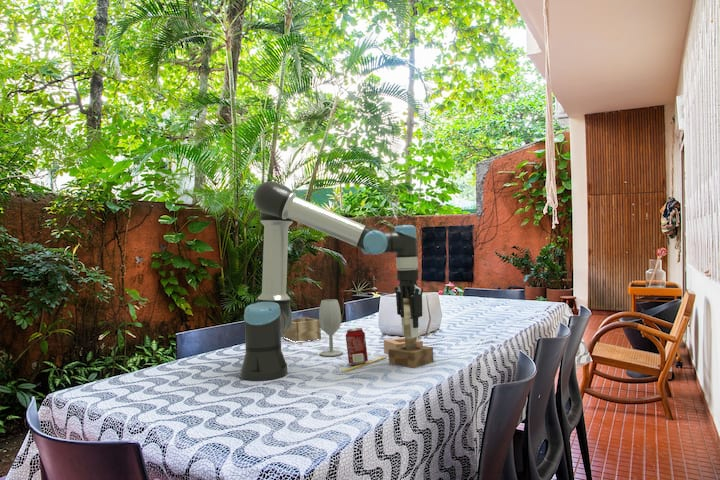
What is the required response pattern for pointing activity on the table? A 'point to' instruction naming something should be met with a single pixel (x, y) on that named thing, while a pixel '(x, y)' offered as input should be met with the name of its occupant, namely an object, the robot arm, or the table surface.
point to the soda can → (356, 346)
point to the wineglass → (330, 323)
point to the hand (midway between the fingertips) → (410, 336)
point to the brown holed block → (411, 356)
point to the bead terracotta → (396, 343)
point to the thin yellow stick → (363, 364)
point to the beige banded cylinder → (408, 327)
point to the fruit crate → (303, 329)
